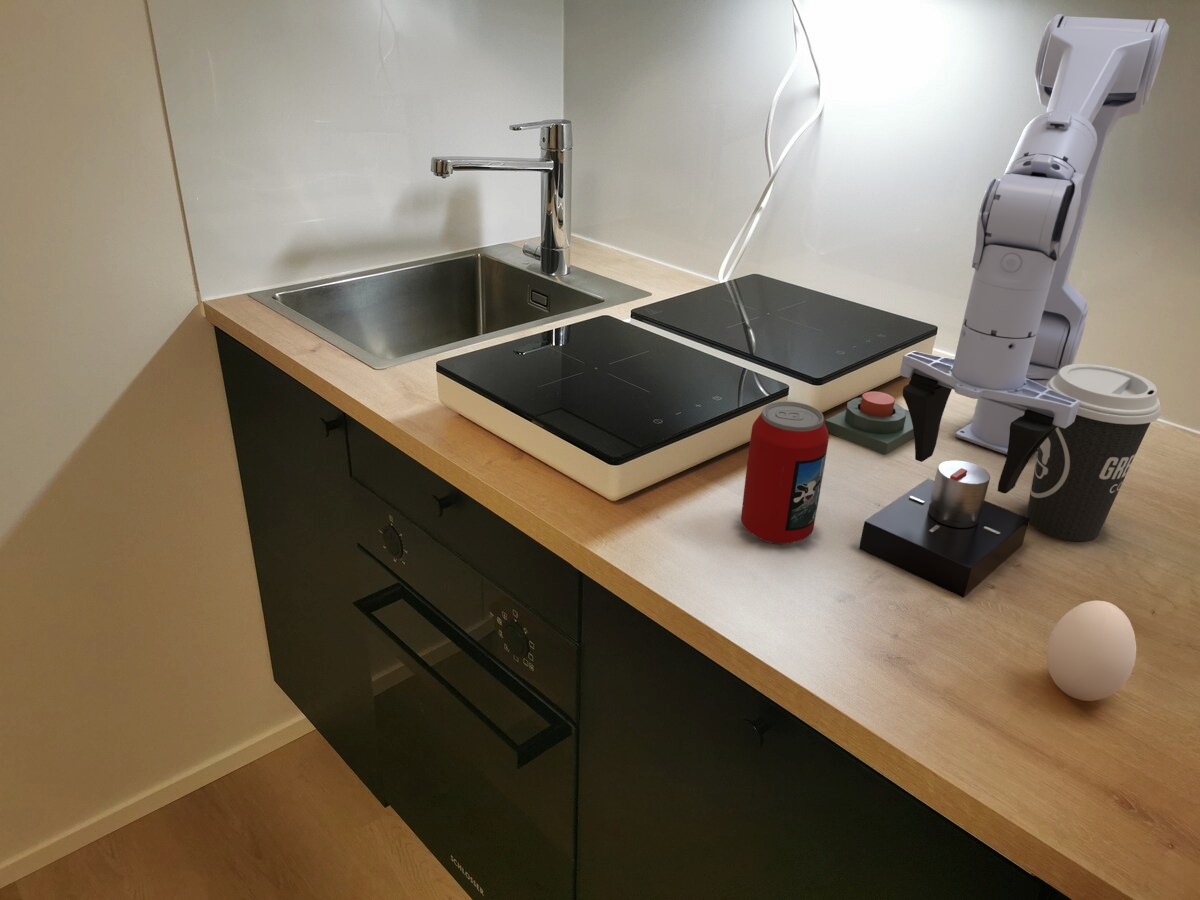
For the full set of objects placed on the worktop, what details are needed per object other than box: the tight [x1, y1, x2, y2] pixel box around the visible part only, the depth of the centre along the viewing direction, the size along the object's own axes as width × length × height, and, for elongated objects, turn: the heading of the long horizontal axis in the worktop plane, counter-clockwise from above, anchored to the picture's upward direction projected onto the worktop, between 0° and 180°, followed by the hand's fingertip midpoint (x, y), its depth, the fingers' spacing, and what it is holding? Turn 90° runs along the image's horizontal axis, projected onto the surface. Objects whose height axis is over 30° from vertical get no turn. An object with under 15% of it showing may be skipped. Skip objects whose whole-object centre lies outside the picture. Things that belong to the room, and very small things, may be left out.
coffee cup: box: [1025, 363, 1162, 542], centre depth 84 cm, size 10×10×15 cm
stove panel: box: [858, 478, 1030, 599], centre depth 82 cm, size 12×10×3 cm
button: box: [860, 391, 896, 417], centre depth 103 cm, size 4×4×2 cm
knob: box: [928, 459, 991, 528], centre depth 81 cm, size 4×4×5 cm
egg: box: [1045, 599, 1137, 702], centre depth 64 cm, size 6×6×8 cm
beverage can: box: [740, 400, 830, 545], centre depth 82 cm, size 7×7×12 cm
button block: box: [824, 397, 914, 455], centre depth 105 cm, size 10×8×3 cm
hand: (963, 472), depth 80 cm, fingers open, 7 cm apart
